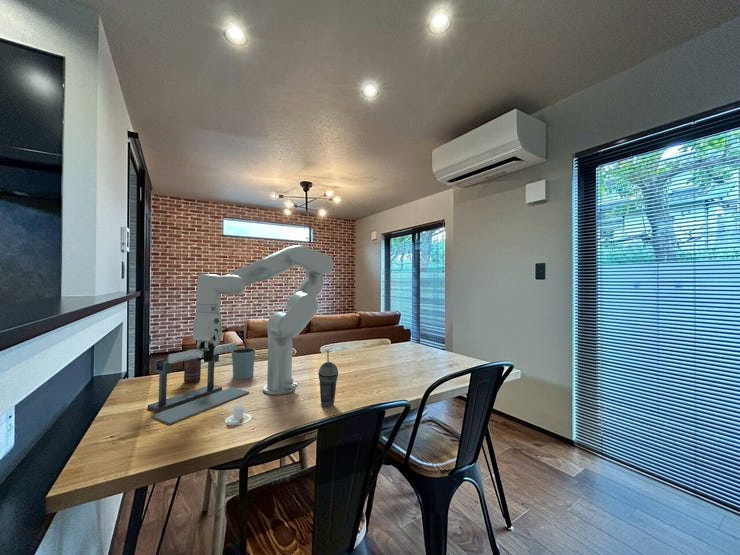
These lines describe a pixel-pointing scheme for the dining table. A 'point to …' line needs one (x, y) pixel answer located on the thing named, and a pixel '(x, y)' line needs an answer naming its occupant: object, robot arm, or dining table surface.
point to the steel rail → (199, 353)
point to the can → (192, 370)
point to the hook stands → (164, 403)
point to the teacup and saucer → (237, 416)
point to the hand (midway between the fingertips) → (205, 360)
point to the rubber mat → (198, 405)
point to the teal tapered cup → (243, 363)
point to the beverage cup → (328, 383)
